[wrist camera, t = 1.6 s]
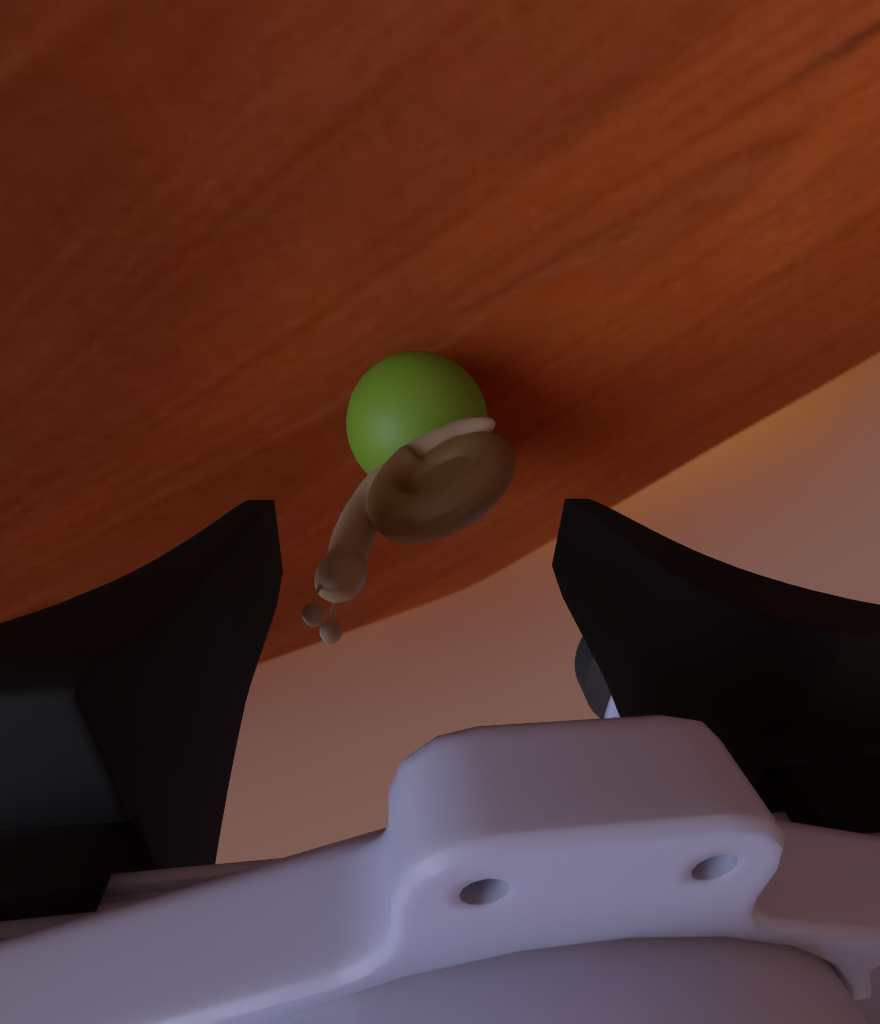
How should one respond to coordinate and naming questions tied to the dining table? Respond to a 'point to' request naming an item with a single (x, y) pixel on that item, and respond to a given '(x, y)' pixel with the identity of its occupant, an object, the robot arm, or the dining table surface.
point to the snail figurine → (411, 468)
